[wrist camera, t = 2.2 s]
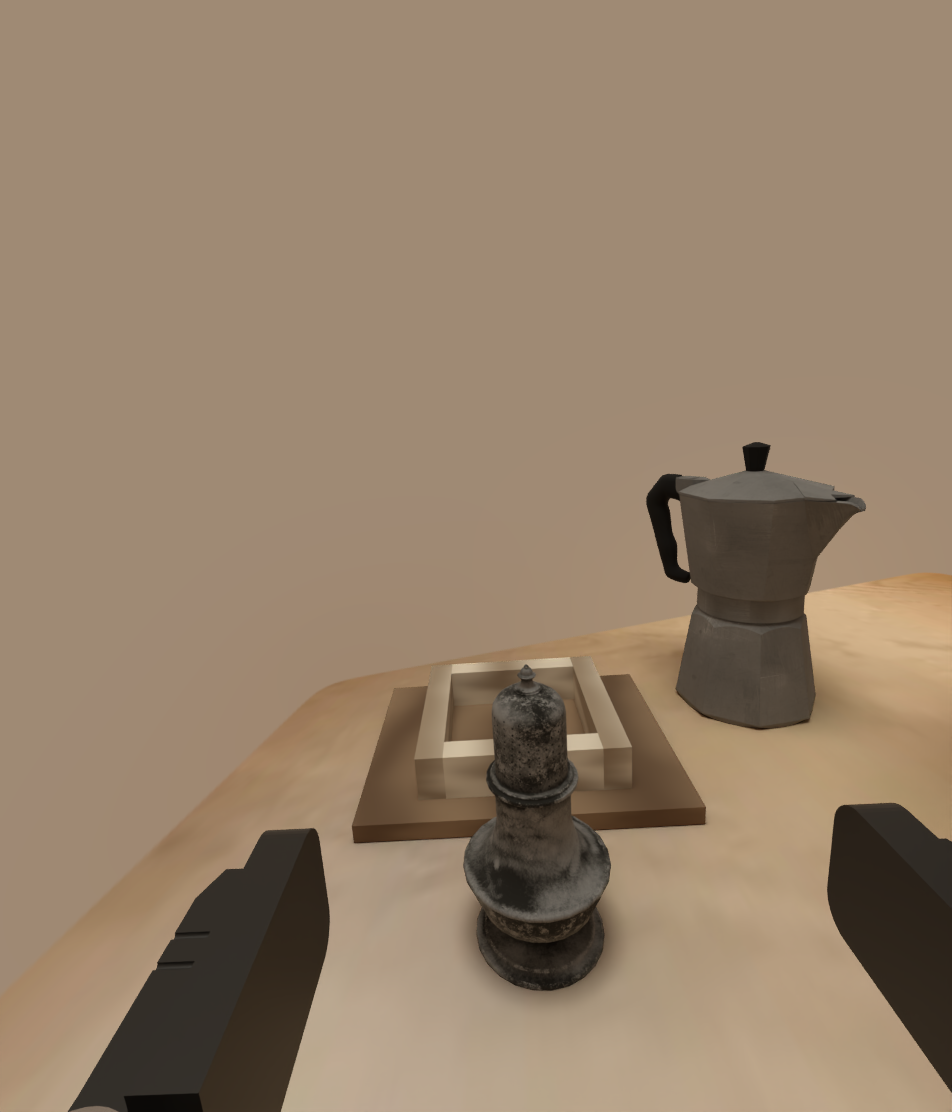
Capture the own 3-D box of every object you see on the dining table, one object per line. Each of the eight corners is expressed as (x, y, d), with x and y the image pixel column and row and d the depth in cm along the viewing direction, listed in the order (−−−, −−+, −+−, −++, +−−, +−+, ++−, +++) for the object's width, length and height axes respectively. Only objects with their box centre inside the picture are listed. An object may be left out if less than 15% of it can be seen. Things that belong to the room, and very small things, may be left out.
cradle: (629, 686, 43) (629, 643, 43) (705, 823, 29) (707, 763, 28) (395, 700, 44) (390, 658, 43) (354, 842, 29) (345, 783, 28)
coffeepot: (877, 711, 38) (909, 436, 33) (798, 763, 33) (823, 451, 29) (684, 642, 51) (689, 436, 46) (607, 673, 46) (604, 447, 42)
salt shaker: (590, 866, 27) (585, 628, 24) (631, 988, 21) (630, 695, 18) (466, 880, 27) (445, 640, 24) (473, 1007, 21) (447, 712, 18)
